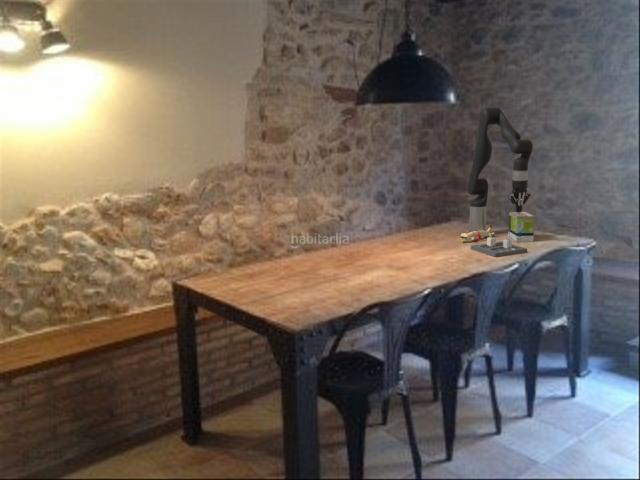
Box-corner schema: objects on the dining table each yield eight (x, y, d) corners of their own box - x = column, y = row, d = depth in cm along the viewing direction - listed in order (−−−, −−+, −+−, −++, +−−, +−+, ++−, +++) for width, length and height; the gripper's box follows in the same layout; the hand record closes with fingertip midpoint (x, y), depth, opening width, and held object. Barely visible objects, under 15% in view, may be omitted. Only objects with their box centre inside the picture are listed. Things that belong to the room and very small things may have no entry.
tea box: (534, 241, 319) (535, 215, 316) (515, 242, 319) (516, 216, 316) (525, 236, 334) (526, 210, 330) (507, 236, 334) (508, 211, 331)
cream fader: (487, 245, 305) (487, 236, 304) (491, 244, 306) (491, 236, 305) (490, 246, 303) (490, 237, 302) (495, 245, 304) (495, 237, 303)
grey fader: (503, 247, 299) (503, 238, 298) (507, 246, 301) (508, 237, 300) (507, 248, 297) (507, 239, 296) (511, 247, 298) (512, 238, 297)
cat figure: (484, 237, 341) (454, 240, 327) (485, 222, 340) (455, 224, 326) (497, 240, 333) (467, 243, 319) (499, 225, 331) (469, 227, 318)
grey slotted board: (470, 249, 308) (470, 244, 307) (501, 244, 315) (501, 240, 314) (495, 257, 289) (495, 252, 289) (527, 252, 296) (527, 247, 296)
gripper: (525, 177, 302) (523, 210, 306) (504, 179, 297) (503, 212, 301) (535, 178, 295) (533, 212, 299) (514, 180, 290) (512, 214, 294)
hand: (518, 212), depth 300 cm, fingers closed
